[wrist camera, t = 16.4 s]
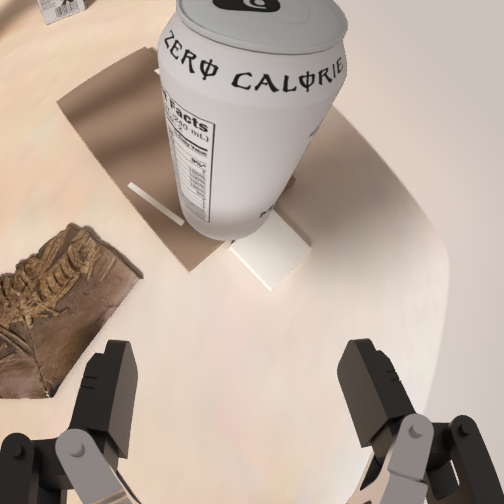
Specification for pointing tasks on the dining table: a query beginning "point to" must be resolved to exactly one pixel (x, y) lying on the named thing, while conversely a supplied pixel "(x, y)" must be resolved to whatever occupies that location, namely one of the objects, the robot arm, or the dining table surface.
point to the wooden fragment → (56, 310)
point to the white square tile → (271, 250)
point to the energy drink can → (245, 102)
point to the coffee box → (60, 9)
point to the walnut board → (137, 147)
